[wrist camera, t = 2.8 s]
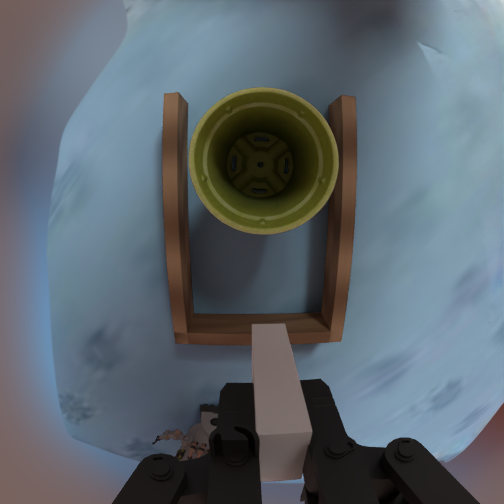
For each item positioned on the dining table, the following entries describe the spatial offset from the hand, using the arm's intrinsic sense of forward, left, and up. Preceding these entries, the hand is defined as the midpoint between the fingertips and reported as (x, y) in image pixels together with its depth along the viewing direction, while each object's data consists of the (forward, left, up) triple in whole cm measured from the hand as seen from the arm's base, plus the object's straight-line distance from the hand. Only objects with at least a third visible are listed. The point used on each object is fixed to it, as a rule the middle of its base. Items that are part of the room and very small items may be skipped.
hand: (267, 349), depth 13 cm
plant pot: (-9, 0, -15) cm, 18 cm away
